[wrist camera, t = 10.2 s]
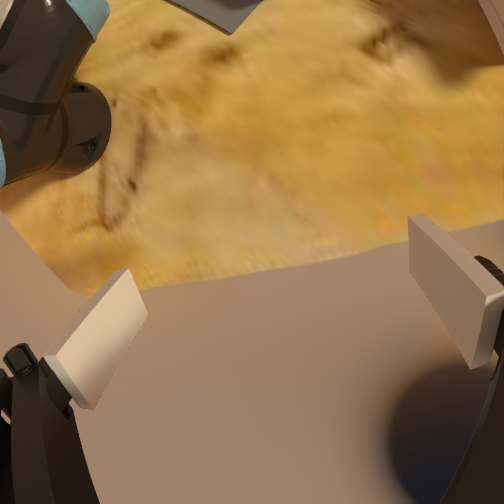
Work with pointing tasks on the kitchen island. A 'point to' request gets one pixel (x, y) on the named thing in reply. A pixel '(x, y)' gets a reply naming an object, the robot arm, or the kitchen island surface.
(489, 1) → the pizza boxes
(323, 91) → the kitchen island surface
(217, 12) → the mat
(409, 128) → the kitchen island surface
